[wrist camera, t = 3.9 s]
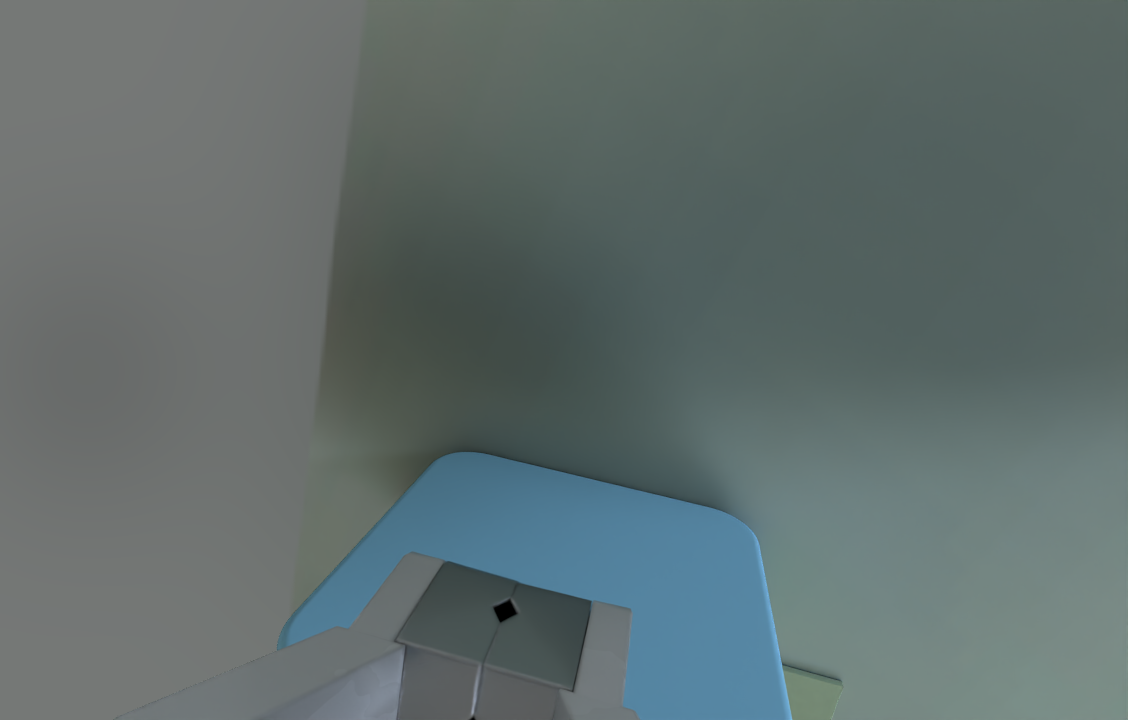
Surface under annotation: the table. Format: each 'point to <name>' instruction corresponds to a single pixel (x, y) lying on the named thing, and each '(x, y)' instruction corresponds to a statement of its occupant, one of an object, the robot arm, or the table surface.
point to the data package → (590, 576)
